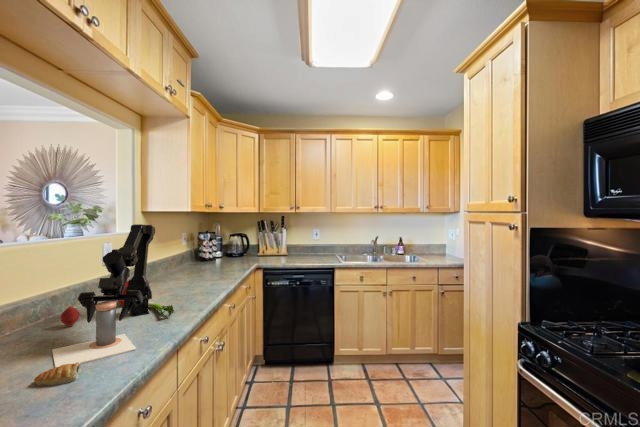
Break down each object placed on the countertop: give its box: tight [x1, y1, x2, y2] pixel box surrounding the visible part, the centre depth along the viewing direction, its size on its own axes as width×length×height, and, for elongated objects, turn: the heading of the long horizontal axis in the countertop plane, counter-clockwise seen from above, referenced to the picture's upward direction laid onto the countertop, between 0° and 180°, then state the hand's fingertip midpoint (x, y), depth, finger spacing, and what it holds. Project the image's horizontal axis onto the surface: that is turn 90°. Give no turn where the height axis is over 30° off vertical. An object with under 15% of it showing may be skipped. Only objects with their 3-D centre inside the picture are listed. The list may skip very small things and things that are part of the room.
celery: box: [148, 300, 175, 320], centre depth 142 cm, size 6×7×30 cm
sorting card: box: [51, 333, 137, 368], centre depth 102 cm, size 20×17×1 cm
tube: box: [95, 301, 117, 346], centre depth 107 cm, size 6×6×13 cm
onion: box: [60, 304, 81, 327], centre depth 124 cm, size 6×6×8 cm
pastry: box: [33, 362, 82, 386], centre depth 84 cm, size 9×7×4 cm
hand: (104, 321), depth 105 cm, fingers open, 9 cm apart
